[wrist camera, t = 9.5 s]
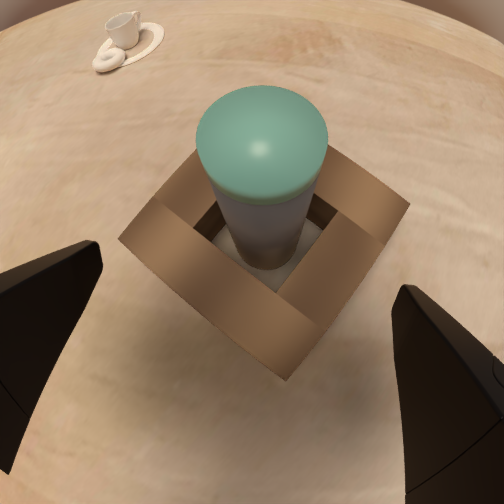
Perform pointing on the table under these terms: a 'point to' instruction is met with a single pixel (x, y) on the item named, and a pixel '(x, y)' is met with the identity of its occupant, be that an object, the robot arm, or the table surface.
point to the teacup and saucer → (124, 41)
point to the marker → (263, 167)
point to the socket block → (245, 284)
